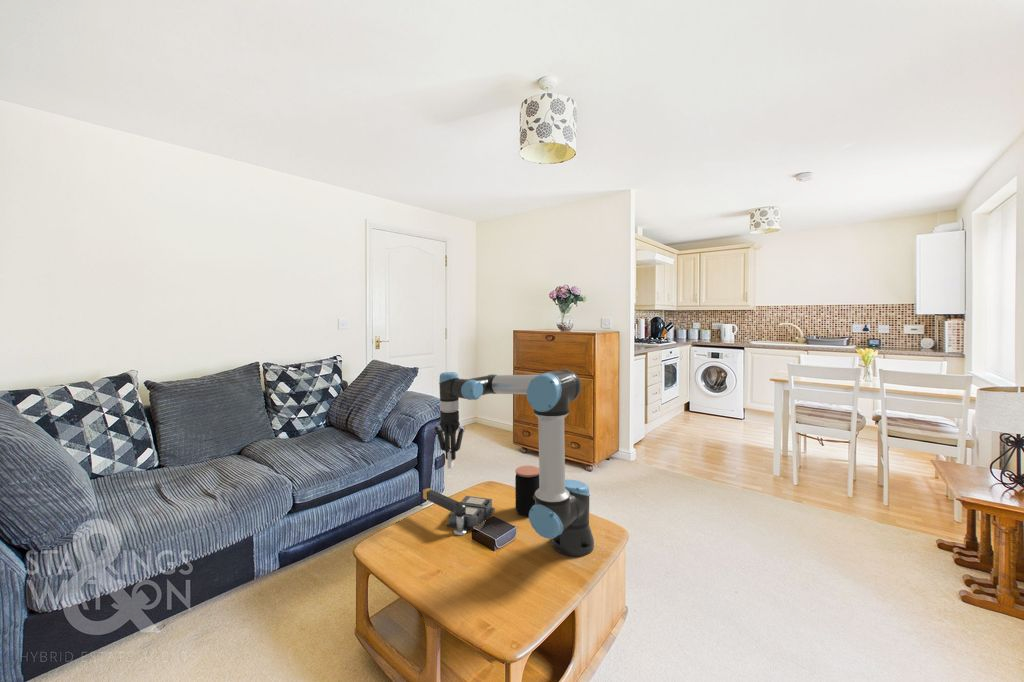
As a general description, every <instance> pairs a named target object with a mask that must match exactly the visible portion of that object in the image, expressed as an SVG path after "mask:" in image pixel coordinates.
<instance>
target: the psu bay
mask: <svg viewBox="0 0 1024 682" xmlns="http://www.w3.org/2000/svg"><path fill="white" fill-rule="evenodd" d="M460 502H464V503H465V504H466V514H465V515H464V527H465V528H466V529H467V531H473V530H472V528H473V527H474V526H477V525H479V524H481V523H482V522H483V521H485V520H487V519H488V518H489V517H490V518H491V516H492V515H493V514H494V512H495V510H496V508H495V507H493V499H492V498H485V497H480V496H479V497H478V496H472V495H471V496H470V495H466V496H464V498H463V499H462V500H461V501H460ZM490 518H489V519H490ZM489 519H488V520H489ZM446 527H447V528H453V529H455V528H457V518H456V515H454V513H453V512H451V511H450V513H449V520H448V522H447V523H446Z"/></svg>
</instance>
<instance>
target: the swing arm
mask: <svg viewBox="0 0 1024 682" xmlns="http://www.w3.org/2000/svg"><path fill="white" fill-rule="evenodd" d="M422 494H423V495H422V497H423V499H424V500H426V501H429V502H430V503H433V504H435V505H437V506H439V507H441V508H444V509H445V510H448V511H450V513H451V512H453V513H454V515H456V516H463V515H465V514H466V504H465V503H464V502H461V501H458V500H455V499H453V498H451V497H449V496H446V495H444V494H443V493H439V492H438V491H436V490H433V489H432V488H429V487H428V488H424V489H423V490H422Z"/></svg>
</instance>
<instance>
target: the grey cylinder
mask: <svg viewBox="0 0 1024 682" xmlns="http://www.w3.org/2000/svg"><path fill="white" fill-rule="evenodd" d="M456 518H457V528H453V529H454V530H453V535H455V536H458V537H460V536H464V535H466V534H467V533H468V530H467V529H466V528H465V527H464V515H463V516H456Z"/></svg>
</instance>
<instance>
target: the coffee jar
mask: <svg viewBox="0 0 1024 682" xmlns="http://www.w3.org/2000/svg"><path fill="white" fill-rule="evenodd" d="M514 471H515V475H514V476H515V480H514V481H515V482H514V483H515V485H514V486H515V487H514V488H515V496H514V497H515V511H516V513H517V514H518V515H519V516H521V517H528V518H529V511H530V509H531V508H532V506H533V505H535V492H536V490H537V489H539V488H540V486H539V467H537V466H533V465H521V466H518V467H517V468H515V470H514Z"/></svg>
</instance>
